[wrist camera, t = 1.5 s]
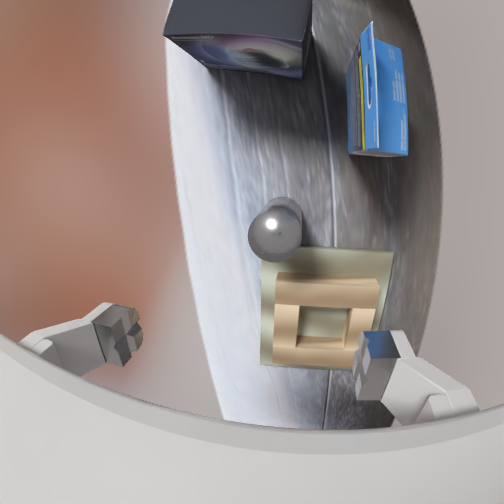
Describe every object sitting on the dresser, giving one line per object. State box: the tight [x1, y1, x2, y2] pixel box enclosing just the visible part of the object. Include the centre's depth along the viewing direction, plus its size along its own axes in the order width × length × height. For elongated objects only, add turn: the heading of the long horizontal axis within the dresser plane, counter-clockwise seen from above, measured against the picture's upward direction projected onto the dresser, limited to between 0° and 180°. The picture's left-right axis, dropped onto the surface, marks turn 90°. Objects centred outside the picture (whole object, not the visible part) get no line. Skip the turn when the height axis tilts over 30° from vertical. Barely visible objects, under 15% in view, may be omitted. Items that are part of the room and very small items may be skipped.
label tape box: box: [346, 21, 408, 157], centre depth 17 cm, size 9×4×12 cm, turn 0°
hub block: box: [260, 246, 394, 370], centre depth 29 cm, size 16×14×3 cm
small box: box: [162, 0, 312, 80], centre depth 18 cm, size 11×6×10 cm, turn 79°
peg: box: [248, 197, 302, 263], centre depth 24 cm, size 4×4×8 cm
